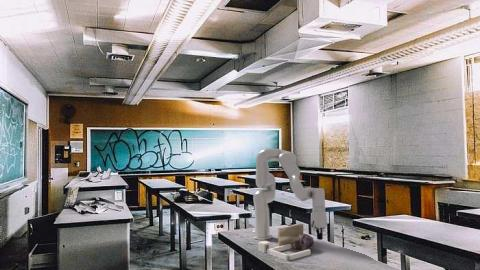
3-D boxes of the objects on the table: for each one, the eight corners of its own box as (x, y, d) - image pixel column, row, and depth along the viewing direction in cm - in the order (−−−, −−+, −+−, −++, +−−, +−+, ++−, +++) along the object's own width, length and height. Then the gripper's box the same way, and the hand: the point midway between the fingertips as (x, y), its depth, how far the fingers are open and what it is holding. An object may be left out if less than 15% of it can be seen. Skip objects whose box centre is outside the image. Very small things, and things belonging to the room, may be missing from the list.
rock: (303, 255, 216) (317, 252, 220) (303, 240, 215) (318, 238, 219) (292, 247, 226) (306, 244, 231) (292, 233, 225) (307, 231, 229)
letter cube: (258, 250, 222) (258, 242, 222) (264, 249, 225) (264, 240, 225) (264, 252, 218) (263, 243, 218) (270, 251, 221) (270, 242, 221)
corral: (267, 253, 216) (267, 249, 216) (289, 248, 226) (289, 243, 226) (288, 260, 202) (288, 255, 202) (310, 254, 213) (310, 249, 213)
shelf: (275, 247, 227) (275, 227, 227) (299, 242, 239) (298, 223, 239) (282, 250, 222) (282, 229, 223) (306, 244, 234) (305, 224, 235)
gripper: (322, 206, 238) (323, 236, 237) (305, 209, 229) (306, 240, 228) (331, 208, 232) (332, 238, 231) (315, 211, 223) (316, 242, 222)
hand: (319, 239), depth 230 cm, fingers closed
